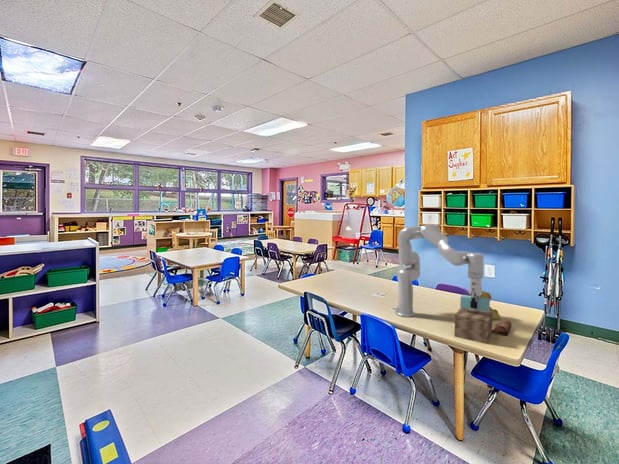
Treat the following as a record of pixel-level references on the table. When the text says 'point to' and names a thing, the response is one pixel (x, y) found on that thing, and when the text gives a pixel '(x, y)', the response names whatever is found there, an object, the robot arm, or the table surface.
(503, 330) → the sunglasses case
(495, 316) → the giraffe plush
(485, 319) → the brown wooden block
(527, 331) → the table surface
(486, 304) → the teal block
